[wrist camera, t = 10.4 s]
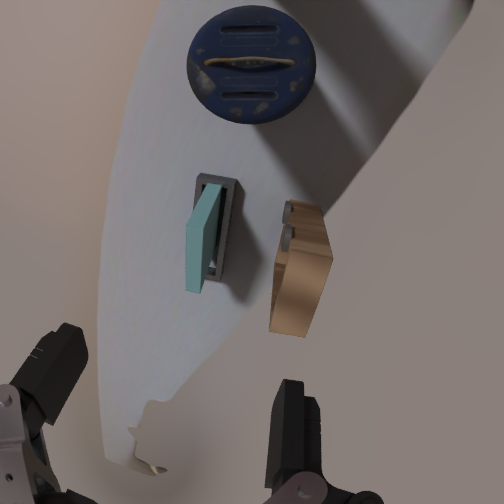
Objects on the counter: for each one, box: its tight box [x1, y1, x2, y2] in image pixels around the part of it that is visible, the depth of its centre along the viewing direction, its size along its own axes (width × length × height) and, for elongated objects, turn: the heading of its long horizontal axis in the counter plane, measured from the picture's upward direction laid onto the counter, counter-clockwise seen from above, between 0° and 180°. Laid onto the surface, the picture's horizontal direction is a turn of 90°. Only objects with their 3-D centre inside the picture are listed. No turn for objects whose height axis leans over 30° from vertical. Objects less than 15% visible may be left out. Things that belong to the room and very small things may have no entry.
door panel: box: [186, 183, 222, 294], centre depth 39 cm, size 10×2×9 cm, turn 171°
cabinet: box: [269, 200, 333, 338], centre depth 37 cm, size 10×5×14 cm, turn 170°
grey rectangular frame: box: [193, 173, 237, 282], centre depth 43 cm, size 15×5×2 cm, turn 170°
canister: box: [187, 5, 316, 124], centre depth 26 cm, size 10×10×18 cm
